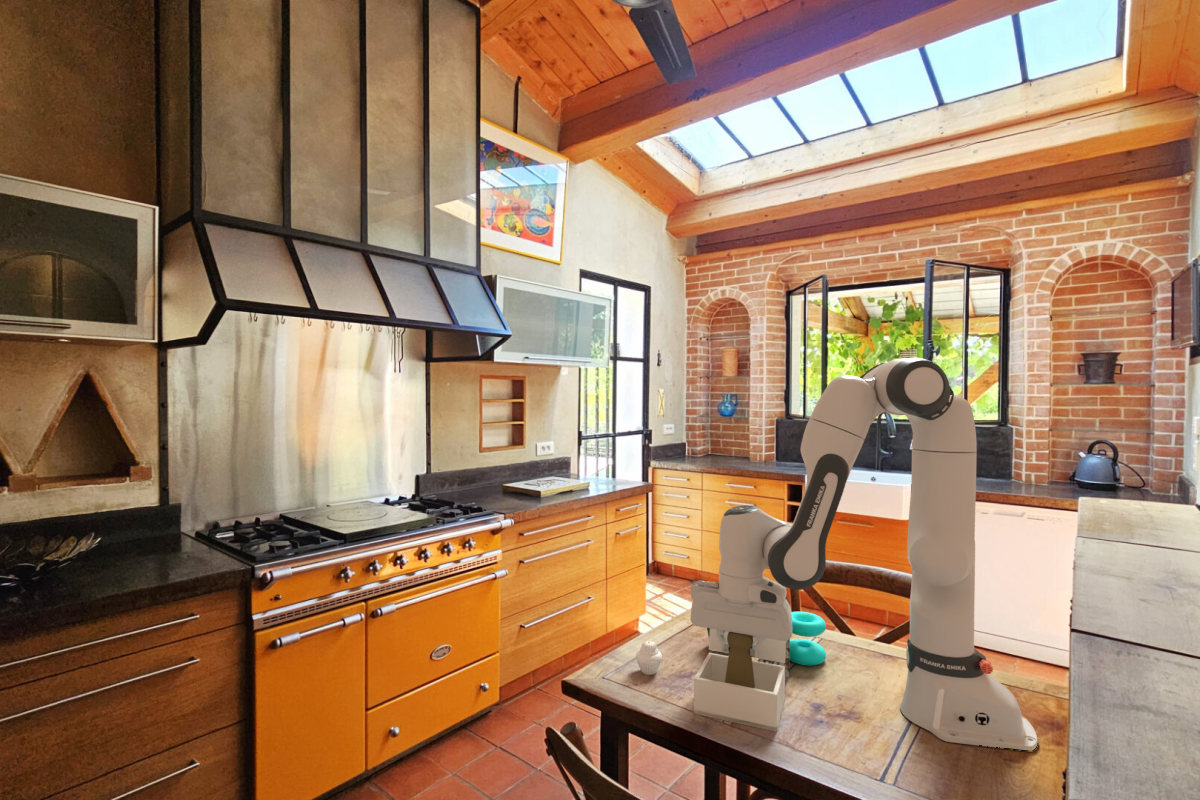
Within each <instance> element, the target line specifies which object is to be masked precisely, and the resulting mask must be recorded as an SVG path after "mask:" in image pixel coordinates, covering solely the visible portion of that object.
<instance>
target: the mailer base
mask: <svg viewBox="0 0 1200 800" xmlns="http://www.w3.org/2000/svg"><path fill="white" fill-rule="evenodd" d="M728 657H729V655H723V654H719V653H712V652H708V654H707V655H706V657H705V659H704V661H703V663H702V664H701V665H700V667H699V669H698V671H697V672H696V674H695V676H694V678H693V714H694V715H697V716H698V715H699V716H704V717H708V718H712V719H713V718H714V719H717V720H720V721H721V720H722V721H726V722H731V723H736V724H739V725H744V726H747V727H753V728H758V729H762V730H767V731H771V732H775V733H777V732H778V730H779V725H780V721H781V717H782V712H783V709H784V705H785V700H786V699H785V698H786V695H785V694H786V691H785V690H786V685H785V684H786V683H785V681H786V677H785V666H780V665H775V664H769V663H764V662H760V661H758V660H757V661H756V660H752V665H753V674H754V682H755V688H750V687H745V686H739V685H734V684H729V683H725V677H726V670H727V664H728Z"/></svg>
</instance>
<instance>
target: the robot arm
mask: <svg viewBox="0 0 1200 800" xmlns="http://www.w3.org/2000/svg"><path fill="white" fill-rule="evenodd" d="M881 414H888V415H894V416H905V417H906V418H907V419H908V421H909V423H910V426H911V430H912V441H911V443H912V444H911V481H910V482H911V484H910V485H911V487H910V500H909V512H908V525H907V527H908V528H907V544H906V553H907V559H908V562H909V564H910V566H911V568H912V570H911V571H912V572H911V583H910V584H911V588H910V597H909V637H908V639H907V641H906V643H907V644H906V659H905V660H906V667H907V678H906V684H905V689H904V693H903V696H902V700H901V702H900V705H899V709H900V712H901V713H902V714H903V716H904V717H905V718H907V719H908V720H909V722H912V723H913V724H915V725H917V726H918V727H920V728H923V729H925V730H927V731H929V732H930V733H932V734H933V735H934V736H935V737H937V738H938V739H940V740H942V741H945V742H947V743H955V744H963V745H969V746H970V745H972V746H979V745H982V746H981V747H987V746H988V747H989V748H996V747H998V748H997V749H1004V748H1016V749H1026V750H1033V749H1035V748H1036V746H1037V743H1038V736H1037V732H1036V730H1035V728H1034V727H1033V725H1032V724H1031V722H1030V721H1029V720H1028V719H1027V718H1026V717H1024V716H1023V715H1022V711H1021V708H1020V705H1019V703H1018V700H1017V699H1016V697H1015V696H1014V695H1013V693H1012V692H1011V691H1010V690H1009V688H1007V686H1005V685H1004V684H1002V683H1001V682H1000V681H999V680H997V679H996V678H995V677H994V676H992V675H991V674H992V673H993V672H994V667H993V665H992V664H991V662H990V661H989V660H987V657H986V656H985V655H984V654H983V653H982V652H981V650H980V649H979V648H977V649H976V648H975V600H976V599H975V596H976V595H975V594H976V593H975V590H976V589H975V588H976V587H975V585H976V582H975V581H976V580H975V579H976V578H975V576H976V540H975V536H976V535H975V533H976V532H975V531H976V529H975V527H976V502H977V501H976V498H977V496H976V495H977V460H978V459H977V457H978V456H977V453H978V452H977V451H978V449H977V432H976V423H975V417H974V412H973V407H972V405H971V404H970V402H969V401H968V400H967V399H965V398H963V397H962V396H959V395H956V394H954V391H953V389H952V387H951V385H950V381H949V379H948V376H947V374H946V372H945V371H944V370H943V369H942V367H940V366H939V364H937V363H936V362H933V361H931V360H929V359H926V358H921V357H909V358H895V359H892V360H889V361H887V362H881V363H879V364H876V365H874V366H873V367H871V368H870V369H868V370H866V371H865V372H864V373H863V374H862V375H860V376H855V375H839V376H837V377H835V378H833V379H832V380H831V381H830V382H829V383H828V385H827V386H826V387H825V389H824V391H823V392H822V394H821V395H820V397H819V399H818V401H817V402H816V404H815V406H814V408H813V410H812V413H811V415H810V417H809V419H808V422H807V423H806V425H805V429H804V433H803V435H802V439H801V444H800V454H801V458H802V460H803V462H804V463H803V464H804V466H805V471H806V485H805V489H804V493H803V495H802V498H801V501H800V503H799V506H798V509H797V511H796V515H795V517H794V520H793V522H792V523H790V522H788V521H784V520H781V519H778V518H776V517H774V516H772V515H770V514H768V513H766V512H765V511H764V510H762V509H761V508H760V507H759V506H756V505H748V504H747V505H746V504H745V505H738V506H733V507H732V508H729V509H728V510H726V511H725V512H724V513H723V515H722V518H721V521H720V525H719V526H720V528H719V542H718V543H719V544H718V545H719V547H718V548H719V554H720V563H719V567H718V582H717V581H705V580H697V581H695V582H693V583H692V584H691V587H690V598H691V599H692V603H691V610H690V622H691V624H693V626H695V627H699V628H704V629H705V628H706V629H707V628H710V629H716V630H717V636H718V638H719V640H720V642H721V643H722V651H723V652H722V653H724V652H729V650H730V645H729V644H728V641H727V640H726V638H725V636H724V633H725V631H728V632H734V633H740V634H746V635H752V636H756V641H758V642H757V644H756V645H755V646H754V645H752V647H751V648H750V656H751V657H752V658H753V657H756V658H755V659H758V654H759V647H760V646H761V644H762V643H763V641H764V638H770V639H776V640H782V641H788V640H789V639H790V640H791V638H792V636H793V633H792V632H793V626H792V614H791V612H792V609H791V604H790V602H789V603H788V601H789V600H788V601H787V600H786V599H785V598H786V597H787V589H789V590H794V591H795V590H797V591H798V590H799V591H800V590H806V589H809V588H812V587H813V586H815V585H816V584H818V582H820V580H821V579H822V578H823V576H824V574H825V569H826V563H827V558H826V553H827V552H826V549H827V548H826V546H827V539H828V536H829V534H830V531H831V528H832V525H833V521H834V520H835V517H836V514H837V511H838V508H839V505H840V502H841V500H842V496H843V494H844V490H845V488H846V484H847V482H848V480H849V476H850V474H851V472H852V469H853V466H854V464H855V463H856V460H857V458H858V455H859V453H860V451H861V449H862V447H863V444H864V442H865V440H866V437H867V435H868V433H869V429H870V426H871V425H872V424H873V423H874V421H875V419H876V418H877V417H879V416H880V415H881ZM765 570H769V571H770V573H771V575H772V577H773V579H774V580H775V581H774V580H772V579H770V578H768V577H766V576H764V572H765ZM789 604H790V605H789ZM1038 744H1039V743H1038ZM988 747H987V748H988ZM999 747H1000V748H999ZM1037 747H1038V746H1037ZM1036 749H1037V748H1036ZM1036 749H1035V750H1036Z"/></svg>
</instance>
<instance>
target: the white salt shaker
mask: <svg viewBox="0 0 1200 800" xmlns="http://www.w3.org/2000/svg"><path fill="white" fill-rule="evenodd" d="M635 659H636V662H637V665H638V667H639V669H640V671H641V673H642V674H644V675H647V676H650V675H651V676H652V675H655V674H656V673H657V671H658V669H659V667H660V665H662V661H663V654H662V653H661V651H660V650H659V649H658V647H657V644H656V643H655V642H654V641H647V640H646V641H643V643H642V644H641V647H640V649H639V650H637V651H636V653H635Z"/></svg>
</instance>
